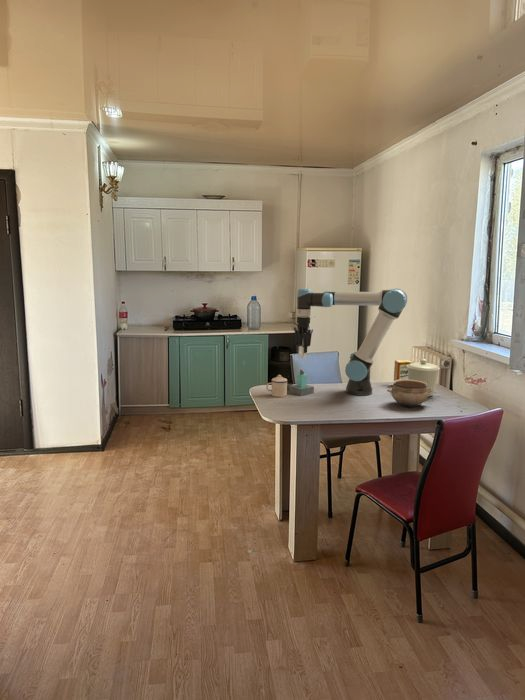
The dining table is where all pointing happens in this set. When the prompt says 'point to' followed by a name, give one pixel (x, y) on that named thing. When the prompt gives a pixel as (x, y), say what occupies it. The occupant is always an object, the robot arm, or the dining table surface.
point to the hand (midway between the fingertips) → (302, 357)
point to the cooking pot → (409, 392)
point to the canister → (424, 373)
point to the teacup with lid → (278, 386)
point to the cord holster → (288, 386)
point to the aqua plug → (301, 379)
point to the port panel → (301, 390)
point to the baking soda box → (401, 369)
